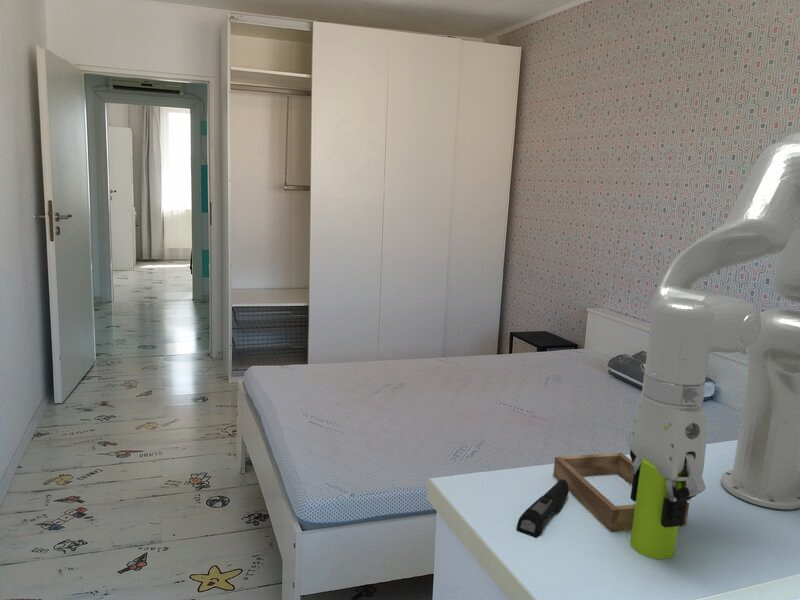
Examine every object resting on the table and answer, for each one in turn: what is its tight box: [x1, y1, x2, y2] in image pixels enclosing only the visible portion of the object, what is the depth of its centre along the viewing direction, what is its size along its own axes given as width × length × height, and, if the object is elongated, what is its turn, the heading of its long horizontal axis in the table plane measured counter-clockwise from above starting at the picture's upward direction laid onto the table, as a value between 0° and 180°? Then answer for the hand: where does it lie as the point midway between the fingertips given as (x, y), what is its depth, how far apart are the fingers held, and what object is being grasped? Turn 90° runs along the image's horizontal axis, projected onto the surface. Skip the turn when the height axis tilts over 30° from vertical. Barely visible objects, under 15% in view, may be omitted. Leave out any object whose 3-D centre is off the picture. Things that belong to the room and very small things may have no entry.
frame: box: [552, 452, 690, 533], centre depth 104 cm, size 13×18×4 cm
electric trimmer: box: [516, 479, 570, 538], centre depth 98 cm, size 4×16×3 cm, turn 146°
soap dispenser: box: [630, 425, 682, 560], centre depth 88 cm, size 6×7×20 cm
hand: (656, 511), depth 89 cm, fingers open, 6 cm apart
